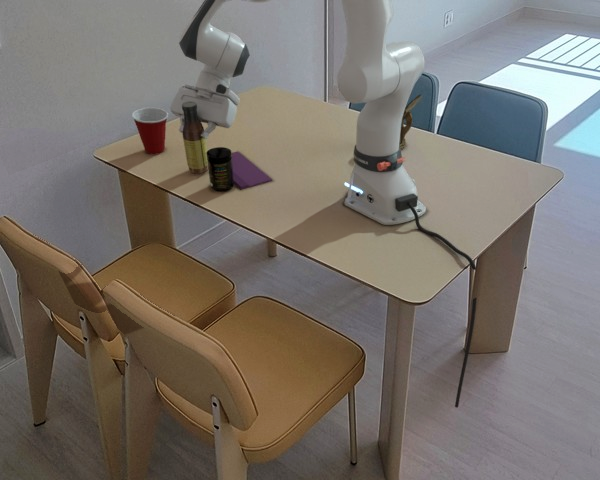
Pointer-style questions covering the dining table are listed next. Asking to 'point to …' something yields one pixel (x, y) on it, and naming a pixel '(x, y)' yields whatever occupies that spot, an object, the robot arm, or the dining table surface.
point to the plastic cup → (151, 128)
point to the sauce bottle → (194, 139)
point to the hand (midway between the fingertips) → (192, 135)
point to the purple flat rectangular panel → (246, 172)
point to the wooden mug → (407, 120)
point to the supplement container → (220, 169)
